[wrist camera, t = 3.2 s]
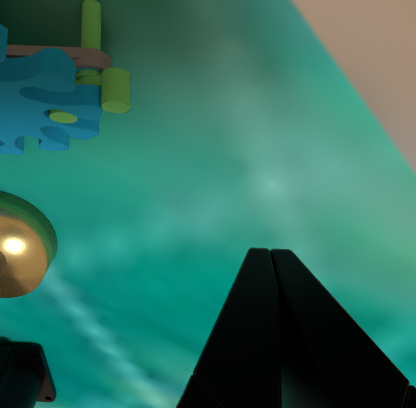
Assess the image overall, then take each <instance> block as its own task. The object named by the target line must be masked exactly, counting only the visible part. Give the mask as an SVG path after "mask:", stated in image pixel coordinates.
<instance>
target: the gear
mask: <svg viewBox="0 0 416 408" xmlns="http://www.w3.org/2000/svg"><path fill="white" fill-rule="evenodd" d="M7 38H8V29H7V28H5V27H4V26H3V25H1V24H0V153H3V154H15V155H21V154H23V149H24V136H31V137H36V138H39V147H40V148H41V149H43V150H46V151H56V150H66V149H69V136H70V137H73V138H75V139H80V140H84V139H89V138H92V137H94V136H96V135H98V134H99V117H100V115H101V107H102V109H103V110H105V111H107V112H111V113H125V112H127V111H129V110H130V73H129V72H128V71H126V70H124V69H122V68H117V67H112V59H111V58H110V56H109V55H108V54H106V53H105V52H103V51H101V50H100V43H101V5H100V3H98V2H97V1H95V0H85V1H83V3H82V27H81V47H61V46H34V45H7Z"/></svg>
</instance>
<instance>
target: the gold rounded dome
mask: <svg viewBox="0 0 416 408" xmlns="http://www.w3.org/2000/svg"><path fill="white" fill-rule="evenodd" d="M56 251H57V237H56V234H55V231H54V229H53V227H52V225H51V224H50V222H49V221H48V219H47V218H46V217H45V216H44V215H43V214H42V213H41V212H40V211H39V210H38V209H37V208H35V207H34V206H33V205H31V204H30V203H28V202H26V201H25V200H23V199H21V198H19V197H16V196H14V195H11V194H8V193H4V192H0V298H11V297H18V296H22V295H25V294H27V293H29V292H31V291H33V290H34V289H35V288H36V287H37V286H38V285H39V284H40V282H41V281H42V279H43V277H44V275H45V273H46V272H47V270H48V268H49V266H50V264H51V262H52V260H53V258H54V257H55V254H56Z"/></svg>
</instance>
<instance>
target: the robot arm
mask: <svg viewBox="0 0 416 408" xmlns="http://www.w3.org/2000/svg"><path fill="white" fill-rule="evenodd" d="M409 385H410V382H409V380H408V379H407V378H406V377H405V376H404V375H403V373H402V372H401V371H400V370H399V369H398V368H397V367H396V366H395V365H394V364H393V362H392V361H391V360H390V359H389V358H388V357H387V356H386V355H385V354H384V352H383V351H382V350H381V349H380V348H379V347H378V346H377V345H376V344H375V342H374V341H373V340H372V339H371V338H370V337H369V336H368V335H367V334H366V332H365V331H364V330H363V329H362V328H361V327H360V326H359V325H358V324H357V322H356V321H355V320H354V319H353V318H352V317H351V316H350V315H349V314H348V312H347V311H346V310H345V309H344V308H343V307H342V306H341V305H340V304H339V302H338V301H337V300H336V299H335V298H334V297H333V296H332V295H331V294H330V292H329V291H328V290H327V289H326V288H325V287H324V286H323V285H322V284H321V283H320V281H319V280H318V279H317V278H316V277H315V276H314V275H313V274H312V273H311V271H310V270H309V269H308V268H307V267H306V266H305V265H304V264H303V263H302V261H301V260H300V259H299V258H298V257H297V256H296V255H295V254H294V253H293V252H292V251H291V250H289V249H271V250H269V249H267V248H250V249H249V250H248V252H247V254H246V256H245V259H244V261H243V263H242V265H241V267H240V270H239V272H238V274H237V276H236V278H235V281H234V283H233V285H232V287H231V289H230V292H229V294H228V296H227V298H226V300H225V303H224V305H223V307H222V309H221V311H220V314H219V316H218V318H217V320H216V322H215V324H214V327H213V329H212V331H211V333H210V335H209V338H208V340H207V342H206V344H205V346H204V349H203V351H202V353H201V355H200V357H199V360H198V362H197V364H196V366H195V368H194V371H193V375H191V377H190V379H189V381H188V383H187V385H186V388H185V390H184V392H183V394H182V396H181V398H180V400H179V402H178V404H177V406H176V408H416V388H415V387H414V386H413V385H410V386H409ZM55 398H56V391H55V387H54V384H53V381H52V378H51V375H50V372H49V368H48V365H47V362H46V359H45V356H44V352H43V350H42V348H40V347H39V346H35V345H16V344H0V408H34V406H35V404H36V401H41V402H53V401H54V400H55Z"/></svg>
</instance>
